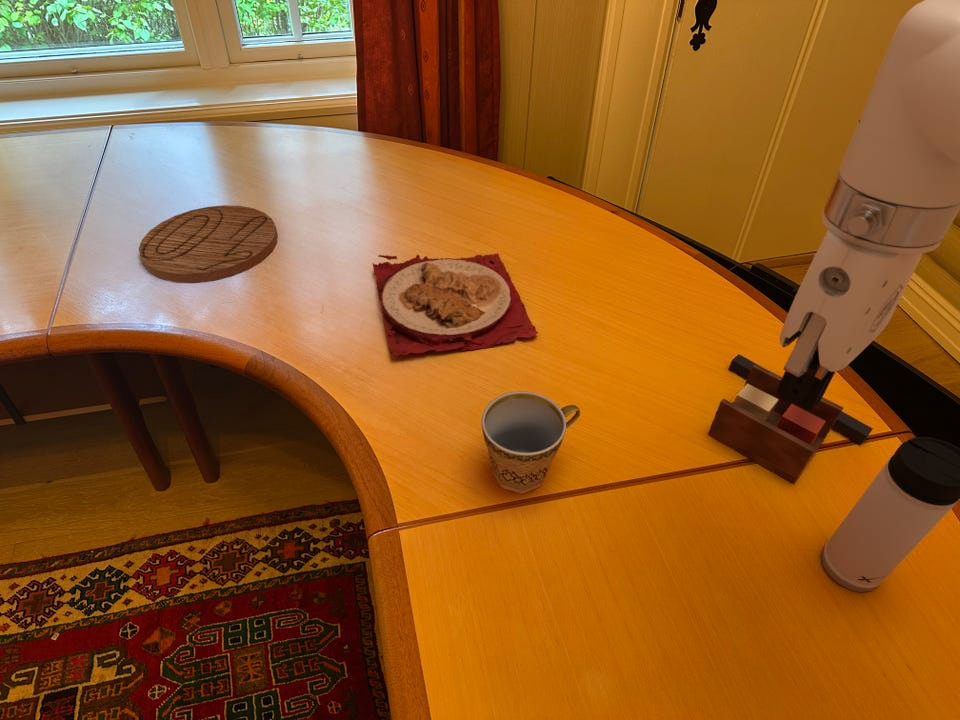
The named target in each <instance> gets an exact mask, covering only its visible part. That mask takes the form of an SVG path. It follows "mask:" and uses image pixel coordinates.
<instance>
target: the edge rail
mask: <svg viewBox="0 0 960 720" xmlns="http://www.w3.org/2000/svg"><path fill="white" fill-rule="evenodd" d="M754 364H757V365H759V364H758V363H756V362H754V361H753V360H751V359H749V358H747V357H745V356H743V355H742V354H741V353H740V354H739V353H738V354H737V355H735V357H733V358H732V360H731V361H730V364H729V366H728V370H729V371H731V372H733V373H734V374H736V375H738V376H739V377H741V378H743V379H744V380H745V381H746V380H747V378H748V376H749V373H750V371H751V369H752V366H753V365H754ZM759 366H761V365H759ZM873 429H874V428H873V427H871V426H869V425H867V424H866V423H864V422H862V421H861V420H859V419H857V418H855V417H853V416H851V415H849V414H848V413H846V412H844V411H842V412H841V413H840V415H839V417H838V418H837V420H836V422H835V423H834V425H833V426H832V428H831V430H833V431H834V432H836V433H838V434H839V435H841V436H843V437H845V438H846V439H848V440H850V441H852V442H853V443H855V444H857V445H859V446H862V444H863V443H864V442H865V441H866V440H867V438H868V437H869V436H870V434H871V432H872V431H873Z"/></svg>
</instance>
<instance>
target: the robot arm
mask: <svg viewBox="0 0 960 720" xmlns="http://www.w3.org/2000/svg"><path fill="white" fill-rule="evenodd" d="M826 199H827V200H826V202H825V204H824V206H823V208H822V212H821V214H820V220H821V222H822V225H823V226H824V227H825V228H826V229H827V231H826V233H825V235H824V237H823V239H822V241H821V242H820V245H819V247H818V249H817V251H816V253H815V254H814V255H813V257H812V260H811V263H810V265H809V267H808V269H807V271H806V273H805V275H804V277H803V278H802V282H801V284H800V285H799V288H798V290H797V292H796V294H795V296H794V299H793V301H792V302H791V306H790V307H789V310H788V312H787V315H786V318H785V320H784V323H783V325H782V328H781V332H780V335H779V343H780V345H781V347H782V348H786V347H788V346H790V345H791V344H792V343H793V342H794V341H795V340H796V342H795V345H794V347H793V349H792V351H791V353H790V355H789V357H788V358H787V360H786V362H785V364H784V366H783V370H784V373H783V375H782V376H781V377H782V379H781V382H780V384H779V386H778V388H777V393H778V395H780V396H782V397H783V398H785V399H787V400H789V401H790V402H792V403H794V404H796V405H798V406H799V407H801V408H803V409H805V410H807V411H810V410H812V409H813V408H814V407H815V405H817V404H818V403H819V402H820V401H821V399H822V397H823V398H824V395H825V393H826V391H827V390H828V387H829V385H830V384H831V382H832V379H833V378H834V375H835V374H836V372H839V371H841V370H843V369H845V368H846V367H847V366H848V365H849V364H850V363H851V362H853V361H854V360H855V359H856V358H857V357H858V356H859V355H860V354H861V353H862V352H863V351H864V350H865V349H866V348H867V347H868V346H870V344H871V343H872V342H874V340H876V339H877V337H878V336H879V335H880V334H881V333H882V332H883V331H884V330H885V329H886V327H887V326H888V324H889V323H890V321H891V319H892V317H893V315H894V313H895V311H896V309H897V307H898V305H899V304H900V301H901V299H902V297H903V295H904V293H905V291H906V289H907V287H908V285H909V283H910V281H911V279H912V276H913V275H914V273H915V271H916V269H917V267H918V265H919V263H920V260H921V258H922V256H923V254H925V253H927V254H928V253H931V252H932V251H935V250H936V249H938V248H939V247H940V245H941V243H942V242H943V240H944V239H945V236H946V235H947V233H948V231H949V230H950V228H951V226H952V224H953V222H954V221H955V219H956V217H957V215H958V213H959V212H960V0H922V1H921V2H919V3H916V4H915V5H914V6H913V7H911V8H910V9H909V10H908V11H907V12H906V13H905V14H904V16H903V17H902V18H901V19H900V21H899V22H898V24H897V27H896V29H895V31H894V33H893V35H892V38H891V40H890V42H889V45H888V47H887V50H886V52H885V55H884V57H883V60H882V62H881V64H880V67H879V70H878V72H877V75H876V77H875V80H874V82H873V84H872V86H871V90H870V92H869V94H868V97H867V100H866V102H865V104H864V106H863V110H862V112H861V114H860V117H859V119H858V121H857V124H856V127H855V129H854V132H853V134H852V137H851V139H850V142H849V143H848V146H847V149H846V151H845V154H844V156H843V159H842V161H841V164H840V167H839V169H838V171H837V175H836V177H835V180H834V182H833V184H832V186H831V189H830V191H829V194H828V197H827V198H826Z"/></svg>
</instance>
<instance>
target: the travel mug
mask: <svg viewBox="0 0 960 720" xmlns="http://www.w3.org/2000/svg"><path fill="white" fill-rule="evenodd" d="M959 501H960V447H958V446H956V445H955V444H952V442H948V441H945V440H942V439H938V438H934V437H927V436H914V437H912V438H909V439H908V440H907V441H903V442H902V443H901V444H900V445H899V446H898V448H897V449H896V450H895V452H894V453H893V454H892V455H891V457H889V459H888V460H887V461H886V463H885V464H884V465H883V467H882V468H881V469H880V471H879V472H878V473H877V474H876V476H875V477H874V479H873V480H872V481H871V482H870V484H869V485H868V487H867V488H866V489H865V491H864V492H863V493H862V495H861V496H860V498H859V499H858V500H857V501H856V502H855V504H854V506H853V507H852V508H851V509H850V511H849V512H848V514H847V515H845V518H844V519H843V520H842V522H841V523H840V524H839V525H838V527H837V528H836V530H835V531H834V533H832V535H831V536H830V538H829V539H828V541H827V542H825V544H824V546H823V548H822V549H821V552H820V560H821V565H822V566H823V568H824V570H825V571H826V573H827V574H828V576H830V578H831V579H832V580H833V581H834V582H836V583H837V584H839V585H840V586H842V587H843V588H846V589H848V590H850V591H853V592H858V593H859V592H860V593H869V592H872V591H874V590H876V589H877V588H878V587H879V586H880V585H881V584H882V583H883V582H884V581H885V580H886V579H887V578H888V577H889V576H890V575H891V573H892V572H893V571H894V570H896V568H897V567H898V566H899V565H900V564H901V563H902V562H903V560H905V559H906V557H908V555H909V554H910V553H911V552H912V551H913V550H914V549H915V548H916V547H917V546H918V545H919V544H920V542H921V541H922V540H923V539H924V538H925V537H926V536H927V535H928V534H929V533H930V532H931V531H932V530H933V529H934V528H935V527H936V526H937V525H938V524H939V522H940V521H941V520H942V519H944V517H945V516H946V515H947V514H948V513H949V512H950V511H951V510H952V509H953V507H955V505H956V504H957V503H958V502H959Z"/></svg>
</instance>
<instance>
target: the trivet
mask: <svg viewBox="0 0 960 720" xmlns="http://www.w3.org/2000/svg"><path fill="white" fill-rule="evenodd" d="M278 236H279V234H278V229H277V227H276V224H275V222H274V220H273V218H272V217H270V216H269V215H268V214H267V213H265V212H264V211H261V210H259V209H256V208H253V207H248V206H243V205H230V204H229V205H228V204H224V205H213V206H204V207H201V208H196V209H195V208H194V209H191V210H187V211H185V212H182V213H178V214H176V215H173V216H171V217H170V218H168V219H165V220H163V221H161V222H160V223H157V225H155V226H154V227H152V228H151V229H150V230H149V231H147V233H146V234H145V235H144V237H143V238H142V239H141V241H140V243H139V246H138V253H139V258H140V260H141V263H142V264H143V266H144V268H145V269H146V270H147V271H148V272H149V274H151V275H153V276H155V277H157V278H159V279H161V280H165V281H169V282H174V283H186V284H187V283H188V284H195V283H196V284H198V283H205V282H214V281H218V280H222V279H225V278H226V279H227V278H230V277H233V276H236V275H239V274H241V273H243V272H246V271H249V270H250V269H252V268H253V267H256V266H257V265H259V264H261V263H262V262H263V261H265V260H266V259H267V258H268V257H269V256H270V255H271V254H272V253H273V251H274V250H275V248H276V246H277V244H278Z"/></svg>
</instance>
